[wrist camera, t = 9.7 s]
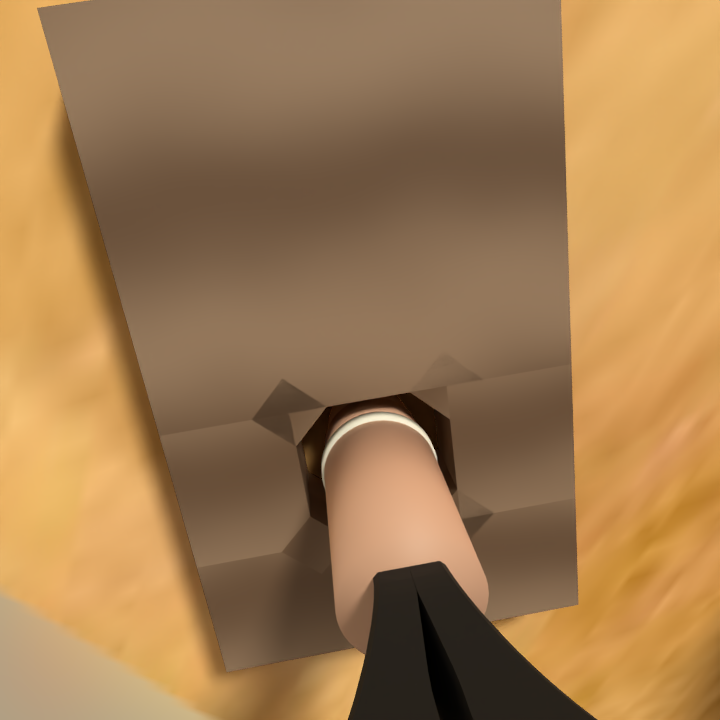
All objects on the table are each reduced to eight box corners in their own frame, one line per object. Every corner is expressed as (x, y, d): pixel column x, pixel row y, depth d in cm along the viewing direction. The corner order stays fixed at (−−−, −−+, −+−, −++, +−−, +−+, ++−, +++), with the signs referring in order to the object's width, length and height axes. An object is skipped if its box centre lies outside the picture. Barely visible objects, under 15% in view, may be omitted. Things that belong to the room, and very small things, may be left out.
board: (548, 554, 22) (578, 604, 20) (233, 613, 22) (226, 672, 19) (519, -38, 16) (558, -67, 14) (75, 26, 15) (37, 7, 13)
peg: (420, 461, 20) (492, 655, 13) (323, 472, 20) (339, 675, 13) (415, 371, 19) (491, 525, 12) (313, 382, 19) (324, 546, 12)
